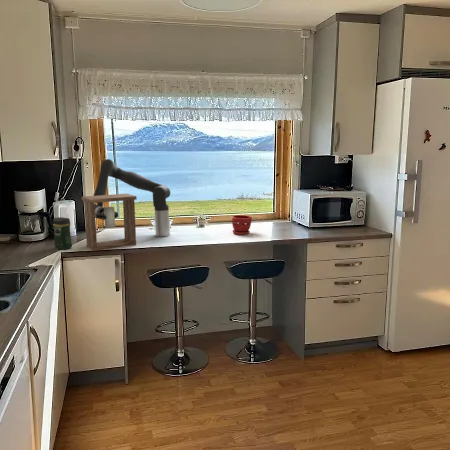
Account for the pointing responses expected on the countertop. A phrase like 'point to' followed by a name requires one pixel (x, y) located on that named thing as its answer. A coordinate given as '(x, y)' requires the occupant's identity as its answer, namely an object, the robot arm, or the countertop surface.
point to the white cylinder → (109, 217)
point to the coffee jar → (62, 233)
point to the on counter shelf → (128, 221)
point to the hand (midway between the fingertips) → (111, 216)
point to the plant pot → (241, 224)
